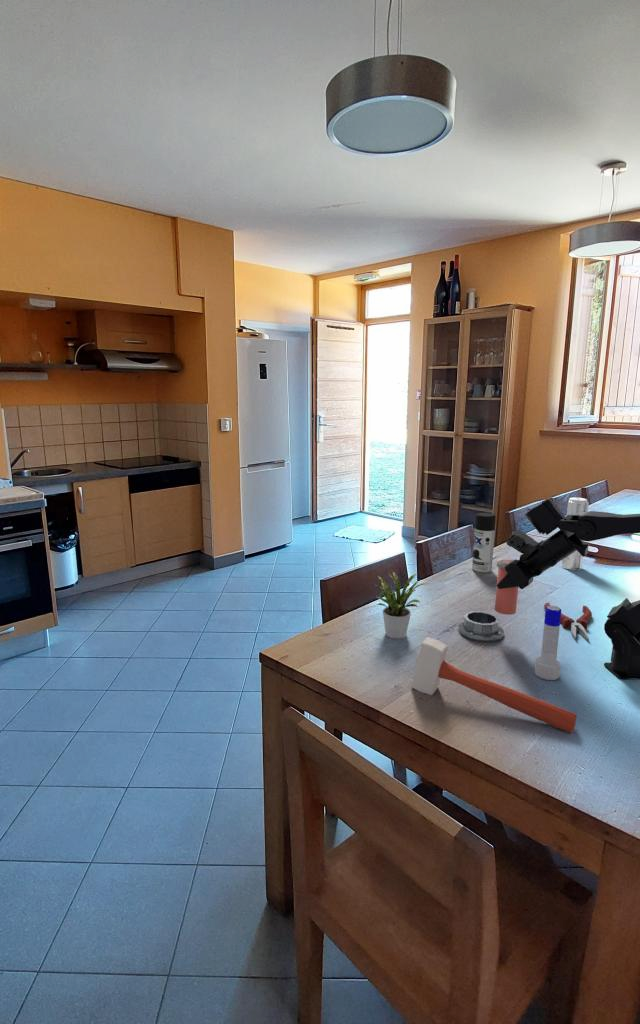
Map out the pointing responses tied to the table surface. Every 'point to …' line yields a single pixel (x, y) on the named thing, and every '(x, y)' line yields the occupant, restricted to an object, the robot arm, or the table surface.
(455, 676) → the mallet
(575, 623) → the pliers
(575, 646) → the table surface
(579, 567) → the white tall cylinder
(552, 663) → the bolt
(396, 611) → the house plant
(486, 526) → the spray can
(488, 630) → the pipe socket
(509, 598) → the orange capped cylinder
